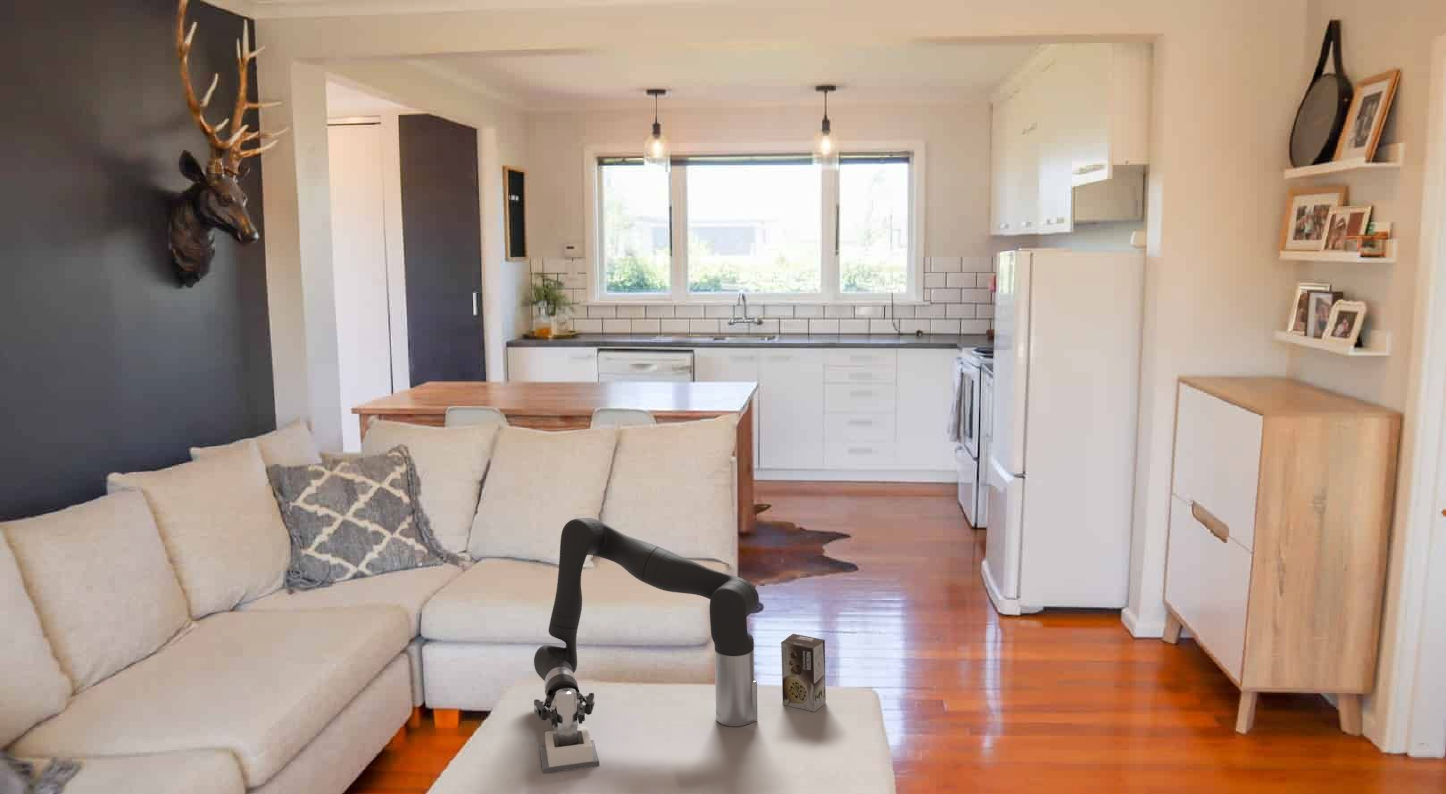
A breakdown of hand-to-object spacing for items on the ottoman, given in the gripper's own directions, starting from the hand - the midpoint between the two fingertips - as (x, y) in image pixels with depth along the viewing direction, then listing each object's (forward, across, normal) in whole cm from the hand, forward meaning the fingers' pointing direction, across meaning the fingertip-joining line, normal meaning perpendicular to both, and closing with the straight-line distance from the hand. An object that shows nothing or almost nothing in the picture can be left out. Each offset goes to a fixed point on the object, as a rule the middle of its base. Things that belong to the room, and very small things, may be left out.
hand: (568, 720), depth 221 cm
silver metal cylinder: (-3, 0, +9) cm, 9 cm away
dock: (-3, 0, +10) cm, 10 cm away
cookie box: (-14, +58, +10) cm, 61 cm away
